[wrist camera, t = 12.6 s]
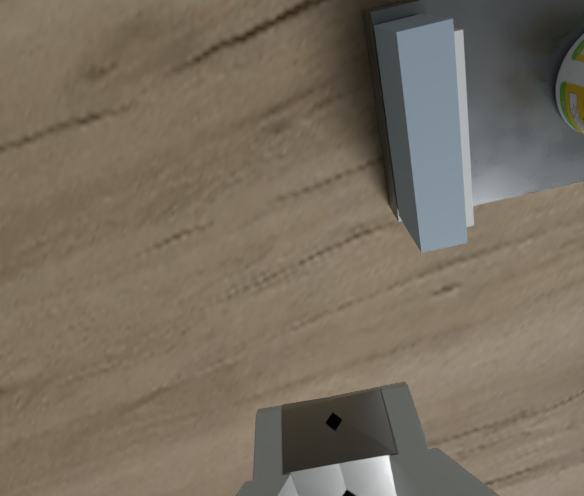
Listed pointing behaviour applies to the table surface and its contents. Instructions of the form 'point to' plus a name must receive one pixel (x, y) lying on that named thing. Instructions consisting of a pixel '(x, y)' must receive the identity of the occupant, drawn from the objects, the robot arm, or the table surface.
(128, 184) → the table surface
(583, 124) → the supplement bottle
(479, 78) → the vise bed
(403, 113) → the sliding jaw
